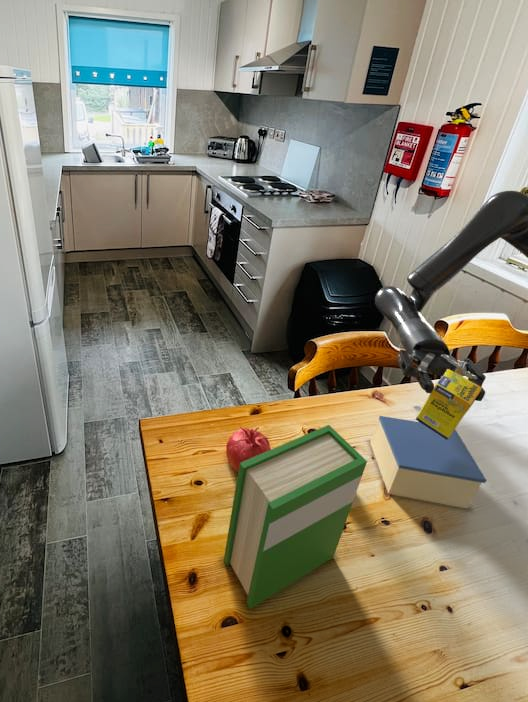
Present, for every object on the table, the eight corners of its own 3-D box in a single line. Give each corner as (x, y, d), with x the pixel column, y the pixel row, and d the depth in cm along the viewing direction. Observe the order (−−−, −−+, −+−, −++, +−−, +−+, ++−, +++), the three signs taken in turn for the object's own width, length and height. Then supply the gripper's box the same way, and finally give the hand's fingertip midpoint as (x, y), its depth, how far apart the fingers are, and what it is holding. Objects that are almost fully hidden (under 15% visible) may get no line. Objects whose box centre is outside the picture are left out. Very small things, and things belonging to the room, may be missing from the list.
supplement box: (447, 441, 75) (472, 405, 69) (414, 419, 79) (435, 383, 73) (458, 423, 78) (483, 387, 72) (426, 403, 82) (447, 367, 76)
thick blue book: (438, 455, 88) (449, 429, 85) (467, 510, 77) (481, 482, 74) (369, 443, 91) (378, 418, 87) (387, 495, 79) (398, 468, 76)
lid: (453, 430, 85) (454, 427, 85) (485, 483, 74) (486, 480, 73) (378, 418, 87) (379, 415, 87) (398, 468, 76) (399, 465, 76)
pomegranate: (249, 494, 78) (255, 461, 74) (215, 458, 85) (219, 426, 82) (281, 469, 84) (289, 437, 80) (247, 437, 91) (252, 406, 87)
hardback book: (249, 610, 61) (272, 509, 51) (223, 561, 67) (239, 462, 57) (332, 558, 68) (367, 461, 58) (302, 519, 74) (328, 424, 64)
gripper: (391, 323, 87) (420, 372, 73) (462, 332, 85) (506, 384, 71) (382, 350, 91) (408, 402, 76) (450, 360, 88) (490, 415, 74)
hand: (455, 393), depth 73 cm, fingers closed on supplement box, 8 cm apart
